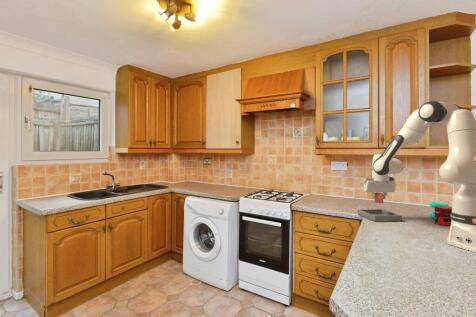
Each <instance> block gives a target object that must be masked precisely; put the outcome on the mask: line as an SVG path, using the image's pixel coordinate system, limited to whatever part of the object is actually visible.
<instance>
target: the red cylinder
mask: <svg viewBox="0 0 476 317" xmlns="http://www.w3.org/2000/svg"><path fill="white" fill-rule="evenodd" d="M374 195H375V196H376V199H374V203H376V204H377V203H378V204H383V203H384V199H383V195H384V193H383V192H375V194H374Z"/></svg>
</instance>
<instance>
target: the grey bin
mask: <svg viewBox="0 0 476 317" xmlns="http://www.w3.org/2000/svg"><path fill="white" fill-rule="evenodd" d="M357 215H358V216H360V217H362V218H364V219H367V220H370V221H371V222H373V223H386V222H387V223H389V222H391V223H392V222H393V223H394V222H402V221H403V215H402V214H401V215H400V214H399V213H398V214H397V213H395V212H392V211H389V210H386V209H381V208H379V209H378V208H377V209H376V208H375V209H374V208H373V209H371V208H370V209H364V208H363V209H357Z"/></svg>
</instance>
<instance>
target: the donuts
mask: <svg viewBox="0 0 476 317" xmlns="http://www.w3.org/2000/svg"><path fill="white" fill-rule="evenodd" d="M428 205H429V207H431V208H432V209H435V205H446V206H449V204H448V203H447V202H441V201H431V202H429V203H428ZM428 216H429V218H432V219H434V218H435V211H431V212H429V214H428Z"/></svg>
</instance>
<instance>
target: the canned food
mask: <svg viewBox="0 0 476 317" xmlns="http://www.w3.org/2000/svg"><path fill="white" fill-rule="evenodd" d="M434 212H435V218H433V220H434V224H435V225H437V226H444V227H451V216H450V215H451V212H452V206H449V205H448V206H446V205H435V208H434Z"/></svg>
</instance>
